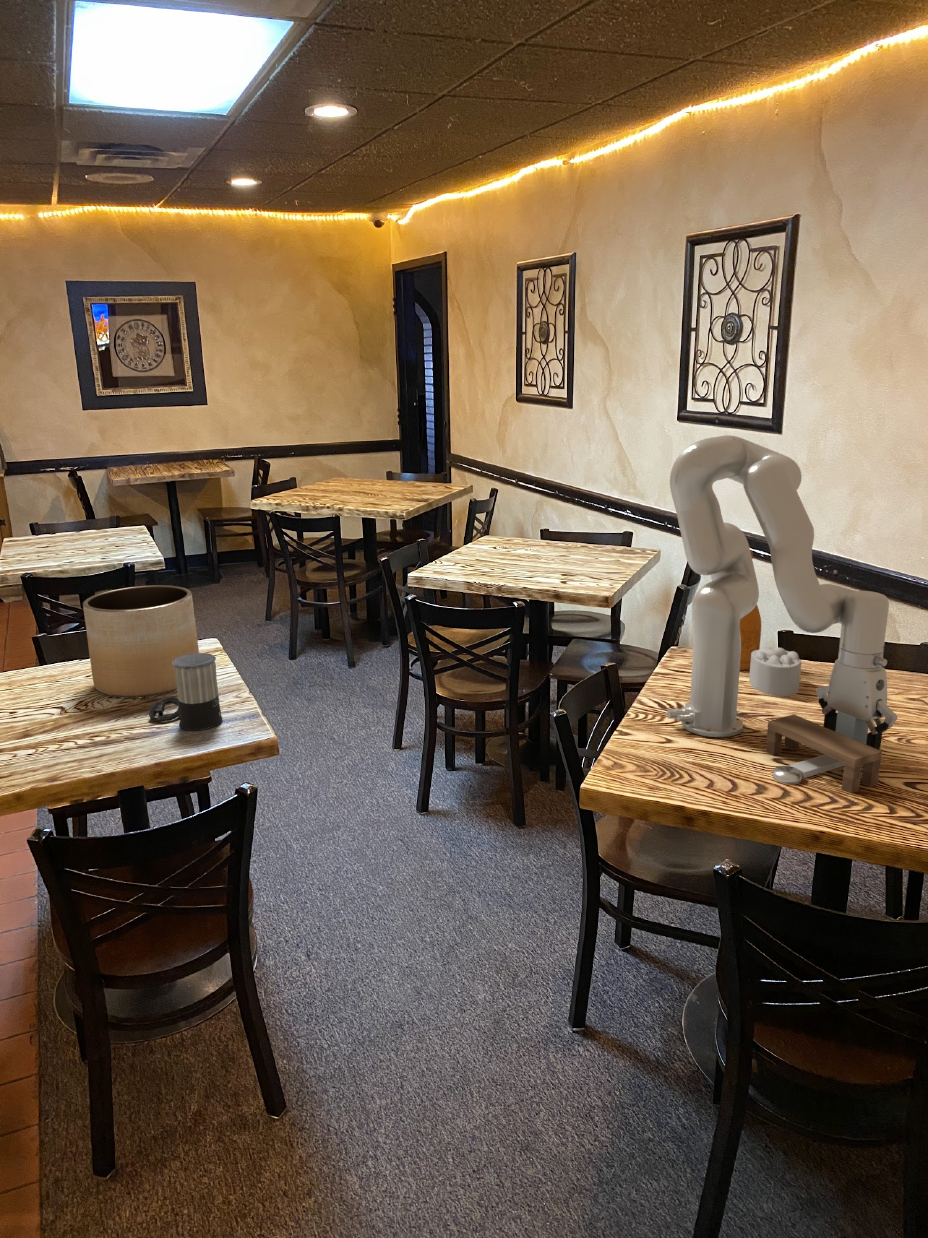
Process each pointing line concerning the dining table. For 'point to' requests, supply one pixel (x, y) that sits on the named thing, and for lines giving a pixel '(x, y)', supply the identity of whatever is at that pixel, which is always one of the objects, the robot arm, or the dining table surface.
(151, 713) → the milk frother
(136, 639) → the beige ceramic crock
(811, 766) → the grey block
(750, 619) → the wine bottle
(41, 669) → the dining table surface
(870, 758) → the stand
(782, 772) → the token
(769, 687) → the lumpy-topped squat cylinder
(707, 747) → the dining table surface
